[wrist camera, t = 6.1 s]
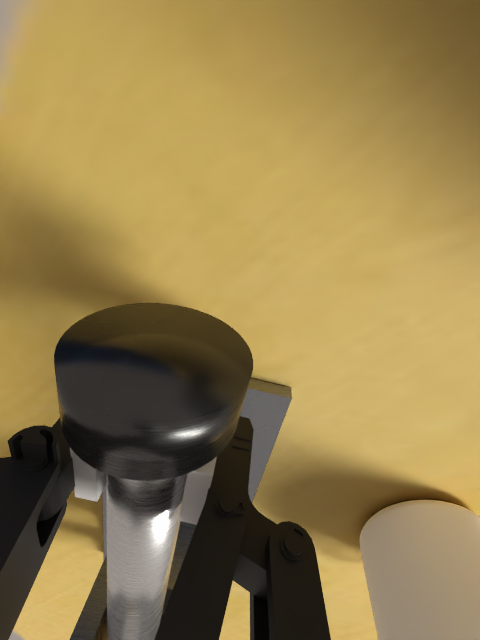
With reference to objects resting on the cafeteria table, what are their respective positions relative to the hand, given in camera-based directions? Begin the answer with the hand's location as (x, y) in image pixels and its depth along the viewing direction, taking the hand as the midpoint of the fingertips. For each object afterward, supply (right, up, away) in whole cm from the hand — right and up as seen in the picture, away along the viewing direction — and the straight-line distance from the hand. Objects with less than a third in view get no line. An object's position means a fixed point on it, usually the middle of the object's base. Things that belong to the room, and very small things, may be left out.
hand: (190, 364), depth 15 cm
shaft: (-2, -7, +1) cm, 7 cm away
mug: (+17, -15, +10) cm, 25 cm away
